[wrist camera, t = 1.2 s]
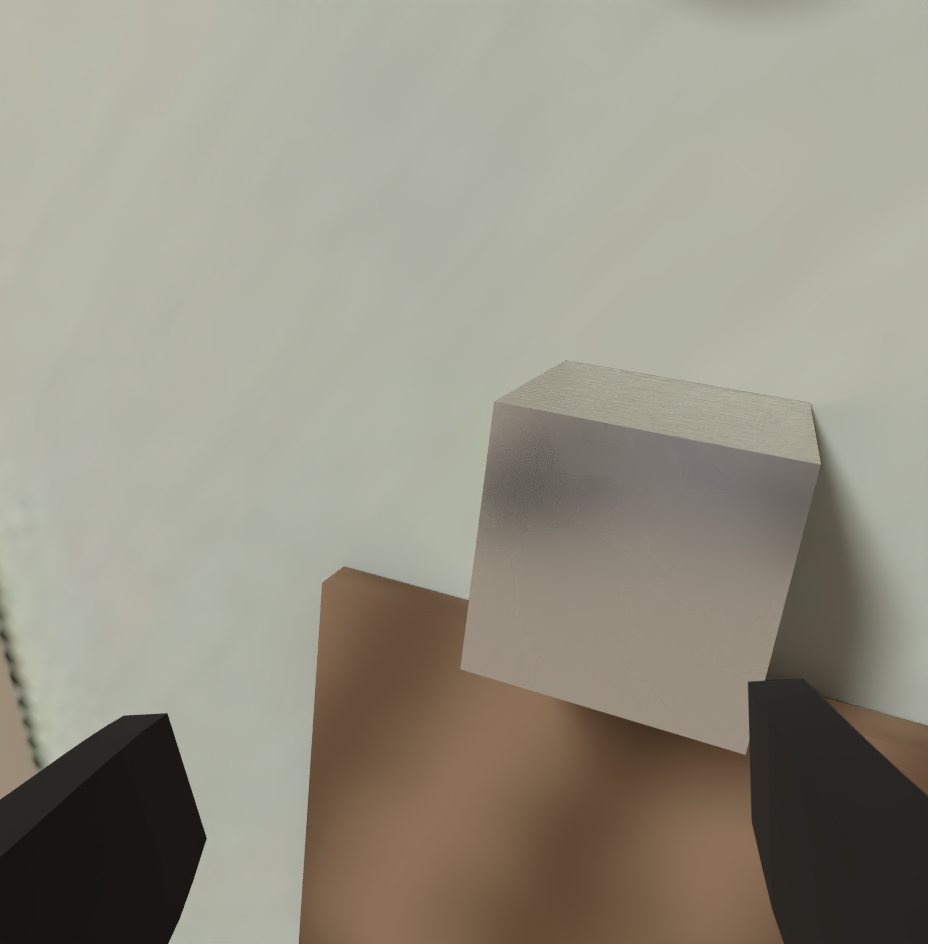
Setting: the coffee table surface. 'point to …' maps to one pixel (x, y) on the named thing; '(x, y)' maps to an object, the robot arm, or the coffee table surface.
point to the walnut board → (516, 799)
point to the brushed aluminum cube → (639, 544)
